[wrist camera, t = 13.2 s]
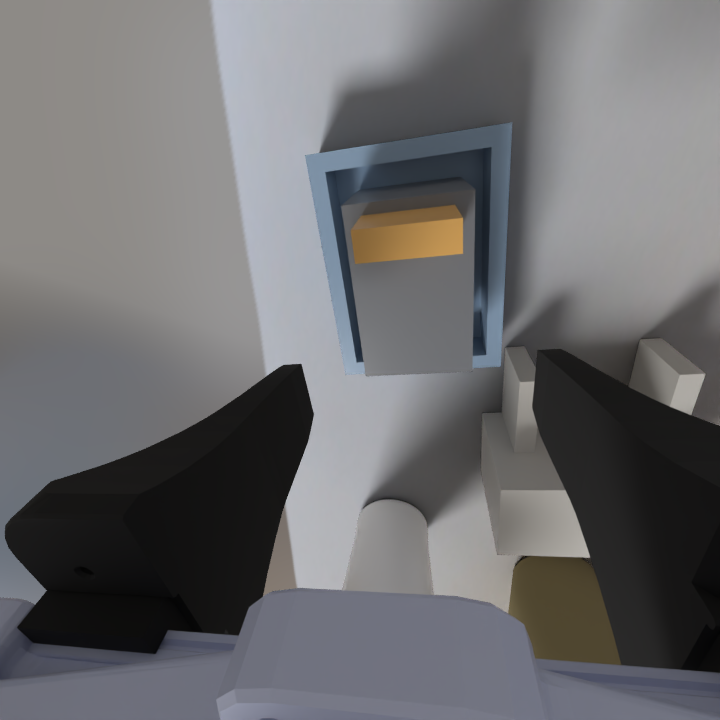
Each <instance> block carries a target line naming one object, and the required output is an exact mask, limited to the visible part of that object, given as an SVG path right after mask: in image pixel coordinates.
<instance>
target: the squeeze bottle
mask: <svg viewBox="0 0 720 720" xmlns="http://www.w3.org/2000/svg"><path fill="white" fill-rule="evenodd" d="M508 614H510V615H511V616H513V617H515V618H516V619H517V620H519V621H520V622H521V623H523V624H524V625H525V628H526V631H527V633H528V636H529V638H530V641H531V643H532V647H533V652H534V656H535V659H548V660H561V661H574V662H587V663H600V664H613V665H621V662H620V658H619V654H618V650H617V647H616V643H615V639H614V635H613V632H612V628H611V625H610V621H609V618H608V614H607V611H606V607H605V604H604V601H603V597H602V594H601V590H600V587H599V584H598V580H597V577H596V574H595V571H594V569H593V568H592V567H591V565H590V564H589V563H588V562H586V561H585V560H583V559H582V558H581V557H554V556H529V557H527V558H525V559H523V560H521V561H520V562H519V563H518V564H517V565H516V566H515V567H514V570H513V578H512V586H511V595H510V603H509V612H508Z"/></svg>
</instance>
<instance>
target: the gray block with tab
mask: <svg viewBox="0 0 720 720" xmlns="http://www.w3.org/2000/svg"><path fill="white" fill-rule="evenodd" d="M341 208H342V215H343V222H344V229H345V236H346V243H347V249H348V256H349V263H350V270H351V277H352V284H353V291H354V298H355V305H356V312H357V319H358V326H359V333H360V340H361V347H362V354H363V361H364V368H365V375H366V376H381V375H405V374H428V373H451V372H472V369H473V307H474V246H475V189H474V188H473V187H472V186H471V185H470V184H468V183H467V182H466V181H465V180H464V179H462V178H461V177H453V178H445V179H437V180H430V181H422V182H414V183H407V184H399V185H391V186H383V187H376V188H368V189H360V190H359V191H357V192H356V193H355V194H354V195H353V196H352V197H351V198H349V199H348V200H347V201H346V202H345V203H344V204H343V205H342V206H341Z"/></svg>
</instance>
